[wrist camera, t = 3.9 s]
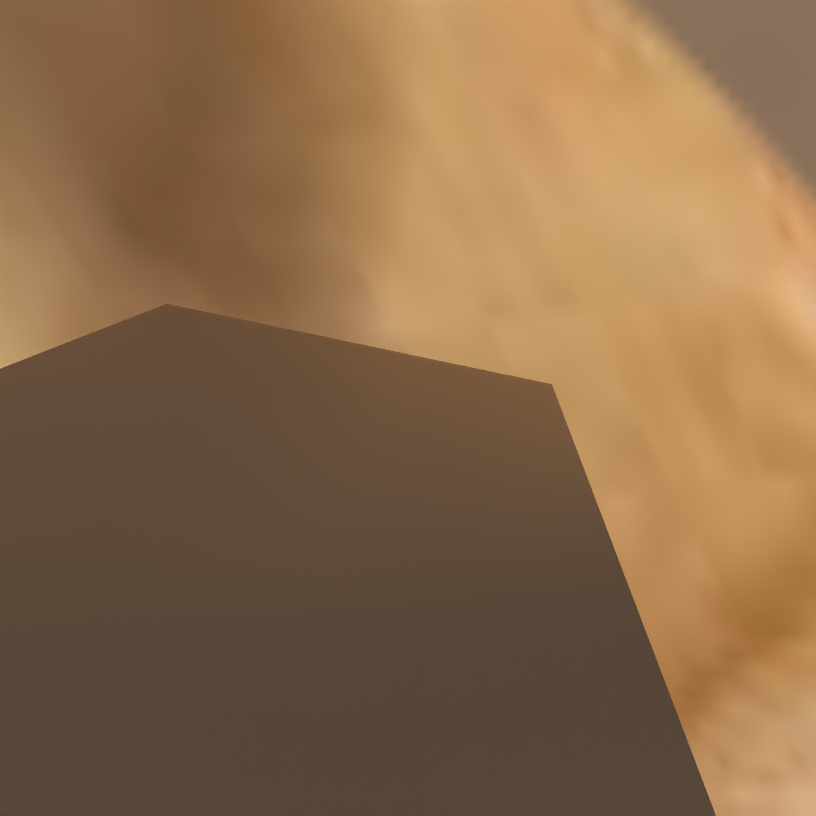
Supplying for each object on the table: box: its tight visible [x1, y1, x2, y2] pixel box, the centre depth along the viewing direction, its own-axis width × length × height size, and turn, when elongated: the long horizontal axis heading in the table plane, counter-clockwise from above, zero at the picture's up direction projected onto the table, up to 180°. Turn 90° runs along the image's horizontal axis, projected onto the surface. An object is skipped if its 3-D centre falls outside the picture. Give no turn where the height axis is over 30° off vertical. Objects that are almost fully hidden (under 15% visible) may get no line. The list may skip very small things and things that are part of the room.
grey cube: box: [0, 304, 716, 816], centre depth 8 cm, size 8×8×9 cm
